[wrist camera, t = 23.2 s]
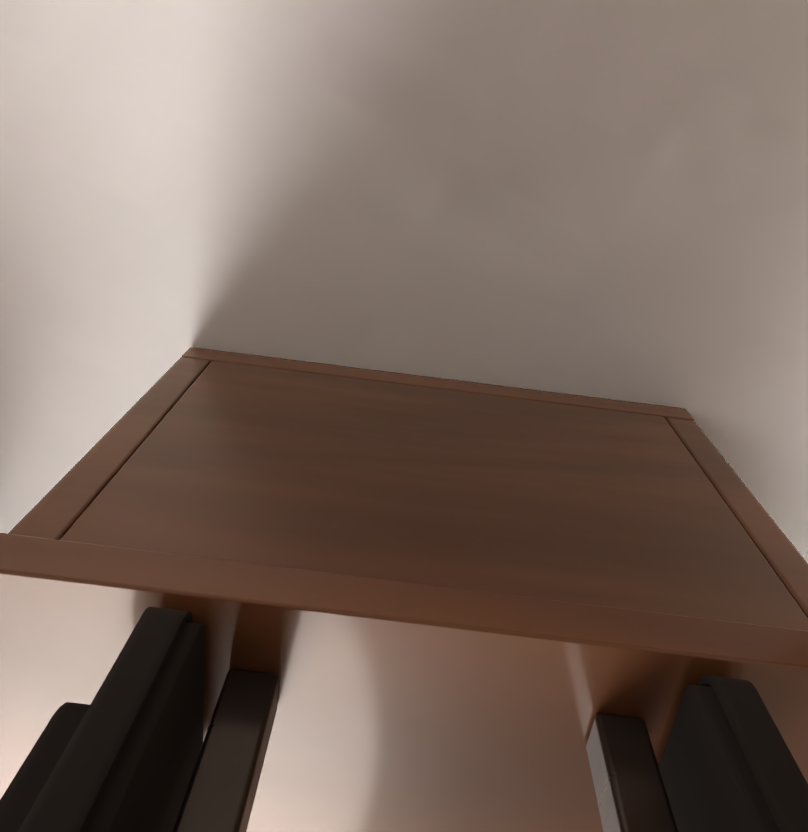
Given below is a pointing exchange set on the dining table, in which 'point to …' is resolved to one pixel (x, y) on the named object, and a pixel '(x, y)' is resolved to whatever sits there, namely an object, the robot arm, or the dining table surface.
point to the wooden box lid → (386, 691)
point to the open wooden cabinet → (431, 489)
